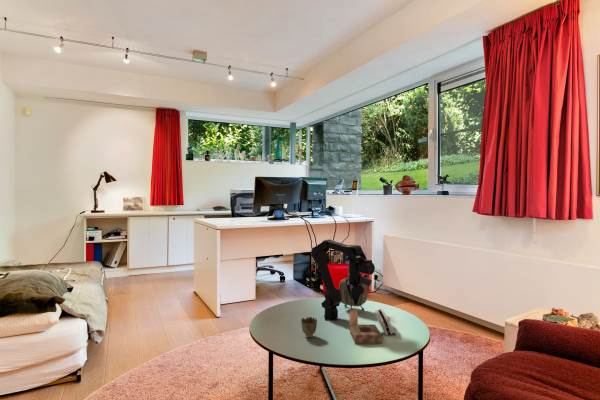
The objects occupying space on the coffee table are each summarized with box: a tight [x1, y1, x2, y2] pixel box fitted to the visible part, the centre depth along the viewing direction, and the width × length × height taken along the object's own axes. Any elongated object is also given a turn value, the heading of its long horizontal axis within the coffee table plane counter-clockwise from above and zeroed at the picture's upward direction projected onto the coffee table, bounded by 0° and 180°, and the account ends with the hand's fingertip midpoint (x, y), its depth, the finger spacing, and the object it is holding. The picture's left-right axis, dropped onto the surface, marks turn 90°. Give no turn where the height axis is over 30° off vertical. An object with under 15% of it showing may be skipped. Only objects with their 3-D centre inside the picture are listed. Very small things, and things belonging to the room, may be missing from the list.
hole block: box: [349, 324, 383, 345], centre depth 158 cm, size 12×12×4 cm
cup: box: [300, 316, 318, 339], centre depth 159 cm, size 8×7×8 cm
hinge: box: [374, 308, 397, 336], centre depth 170 cm, size 17×5×10 cm, turn 179°
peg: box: [349, 309, 359, 328], centre depth 171 cm, size 4×4×8 cm
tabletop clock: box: [338, 267, 368, 312], centre depth 195 cm, size 14×9×25 cm, turn 58°
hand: (353, 301), depth 171 cm, fingers open, 9 cm apart
